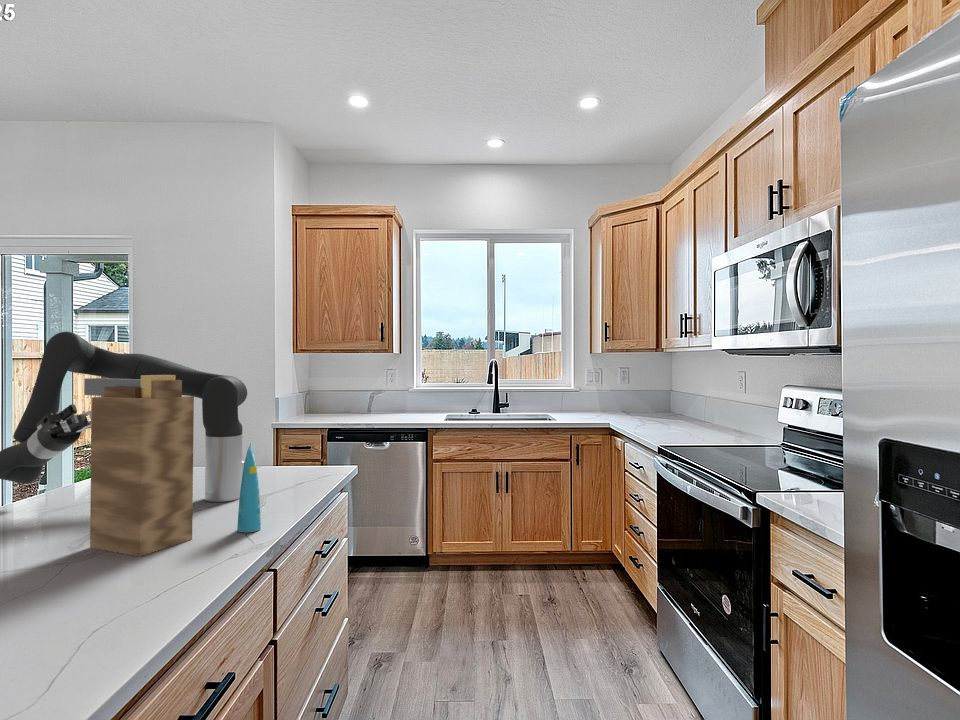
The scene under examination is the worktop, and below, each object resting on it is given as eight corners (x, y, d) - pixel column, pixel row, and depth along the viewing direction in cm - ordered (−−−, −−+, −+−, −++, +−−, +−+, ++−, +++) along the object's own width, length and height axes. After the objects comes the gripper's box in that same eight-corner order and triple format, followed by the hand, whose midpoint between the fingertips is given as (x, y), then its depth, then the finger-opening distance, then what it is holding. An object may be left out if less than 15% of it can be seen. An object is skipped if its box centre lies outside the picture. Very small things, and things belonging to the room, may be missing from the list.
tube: (262, 533, 126) (263, 445, 126) (238, 535, 124) (239, 446, 124) (259, 524, 133) (259, 440, 133) (236, 526, 131) (237, 441, 131)
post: (144, 531, 127) (146, 378, 127) (192, 539, 122) (193, 379, 122) (89, 547, 116) (91, 379, 116) (139, 556, 110) (141, 381, 111)
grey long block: (104, 394, 127) (105, 373, 127) (175, 396, 119) (175, 375, 119) (79, 395, 122) (79, 373, 122) (151, 398, 114) (151, 375, 114)
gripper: (16, 426, 133) (56, 393, 128) (79, 421, 147) (117, 391, 141) (25, 456, 132) (66, 424, 127) (88, 447, 145) (128, 418, 140)
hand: (93, 406), depth 134 cm, fingers open, 8 cm apart
